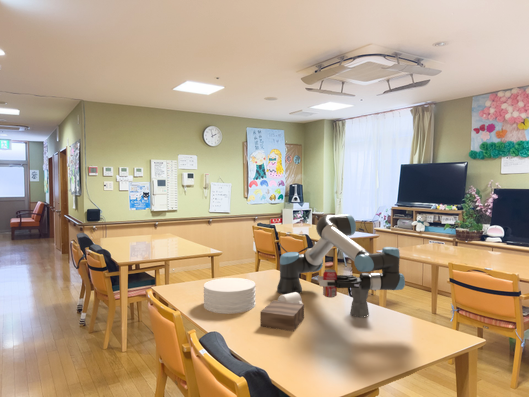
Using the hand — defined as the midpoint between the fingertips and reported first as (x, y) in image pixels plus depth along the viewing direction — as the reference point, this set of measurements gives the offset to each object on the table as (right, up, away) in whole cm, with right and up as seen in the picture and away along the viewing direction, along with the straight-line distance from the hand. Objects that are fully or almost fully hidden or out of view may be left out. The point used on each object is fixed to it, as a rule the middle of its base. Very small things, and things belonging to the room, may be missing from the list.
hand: (318, 281), depth 176 cm
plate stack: (-44, -20, +33) cm, 58 cm away
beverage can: (+5, -7, 0) cm, 9 cm away
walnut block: (-16, -21, +7) cm, 27 cm away
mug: (-11, -21, +25) cm, 34 cm away
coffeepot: (+23, -21, +19) cm, 36 cm away
